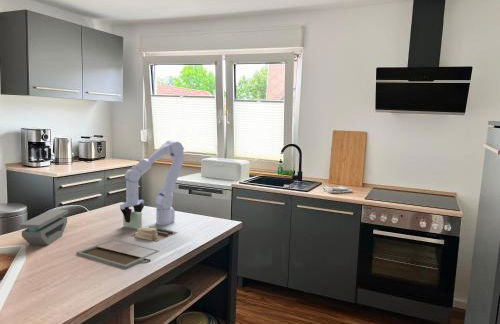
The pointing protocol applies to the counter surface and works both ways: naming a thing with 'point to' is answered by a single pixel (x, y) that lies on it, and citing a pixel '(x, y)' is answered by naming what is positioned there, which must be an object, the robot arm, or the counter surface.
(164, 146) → the robot arm
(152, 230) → the offcut upper
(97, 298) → the counter surface
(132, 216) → the sage green block
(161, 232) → the rack
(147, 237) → the offcut lower
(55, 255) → the counter surface
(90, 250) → the grey framed board
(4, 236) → the counter surface
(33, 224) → the grey slotted block
